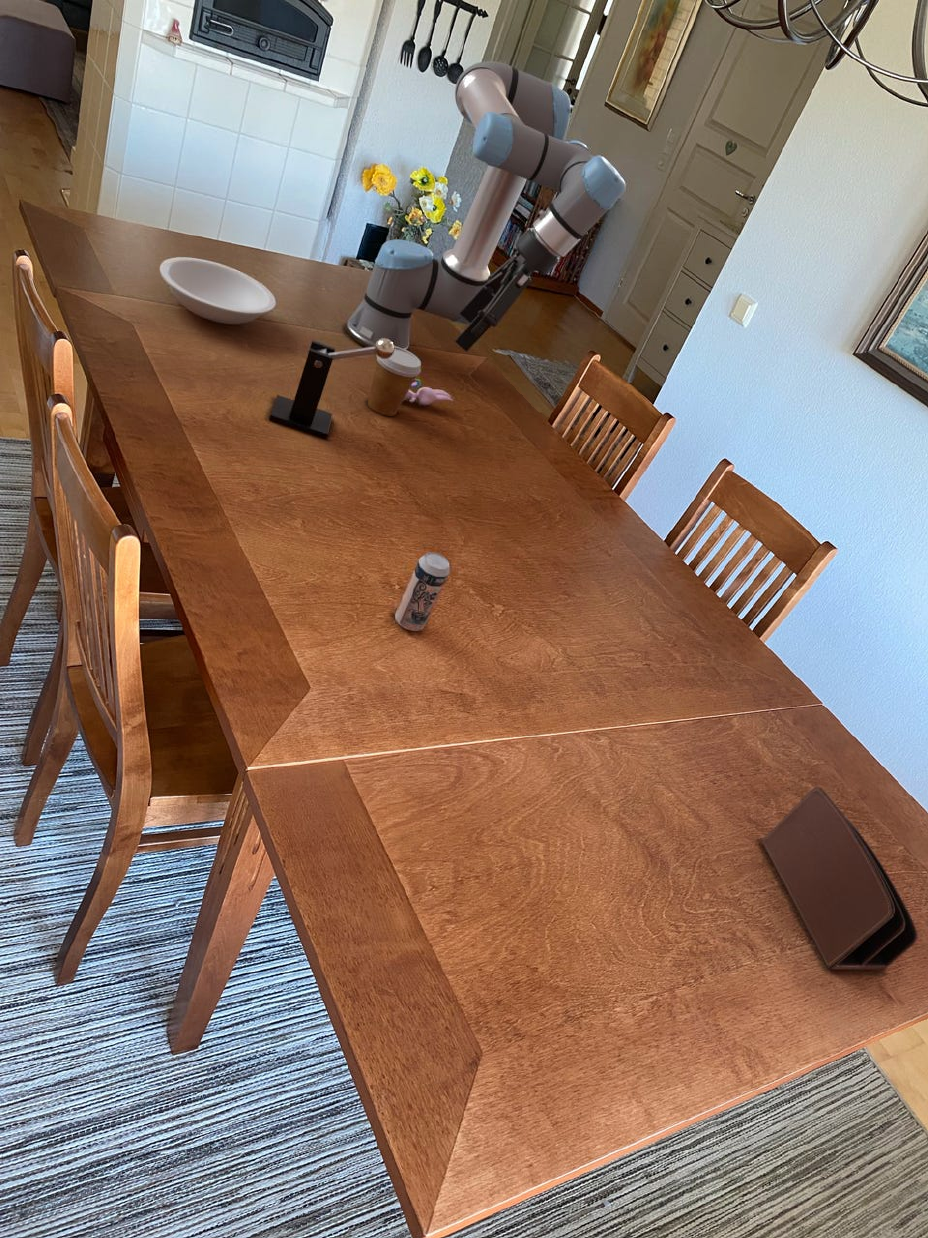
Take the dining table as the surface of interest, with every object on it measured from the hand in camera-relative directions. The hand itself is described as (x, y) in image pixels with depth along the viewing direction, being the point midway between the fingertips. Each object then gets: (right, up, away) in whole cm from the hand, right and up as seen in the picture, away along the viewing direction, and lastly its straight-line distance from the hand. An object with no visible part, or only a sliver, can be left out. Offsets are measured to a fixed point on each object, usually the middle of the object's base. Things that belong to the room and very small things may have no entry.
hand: (462, 331), depth 168 cm
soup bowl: (-54, +13, +30) cm, 63 cm away
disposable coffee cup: (-17, -8, +26) cm, 32 cm away
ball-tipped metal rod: (-20, -5, +2) cm, 20 cm away
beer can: (-8, -53, -28) cm, 60 cm away
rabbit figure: (-10, -5, +34) cm, 36 cm away
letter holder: (+49, -91, -41) cm, 111 cm away
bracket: (-31, -14, +8) cm, 35 cm away
